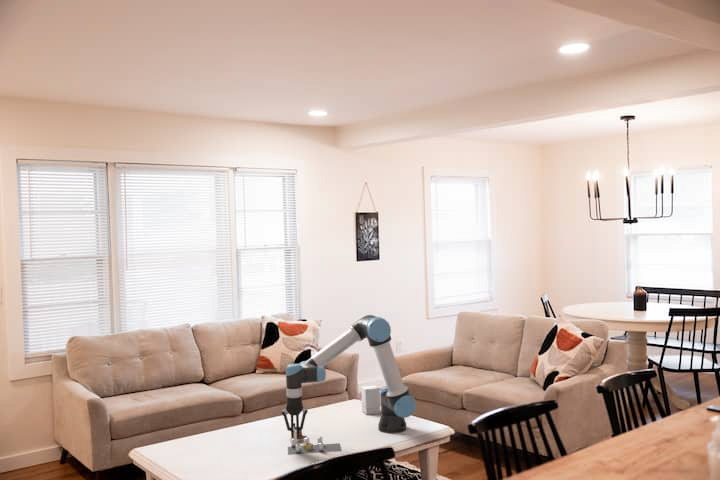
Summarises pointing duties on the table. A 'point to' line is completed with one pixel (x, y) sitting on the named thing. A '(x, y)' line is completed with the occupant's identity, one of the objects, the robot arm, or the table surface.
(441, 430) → the table surface
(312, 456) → the table surface
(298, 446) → the spacer field
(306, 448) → the nut
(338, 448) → the mat
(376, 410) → the supplement box
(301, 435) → the figurine
